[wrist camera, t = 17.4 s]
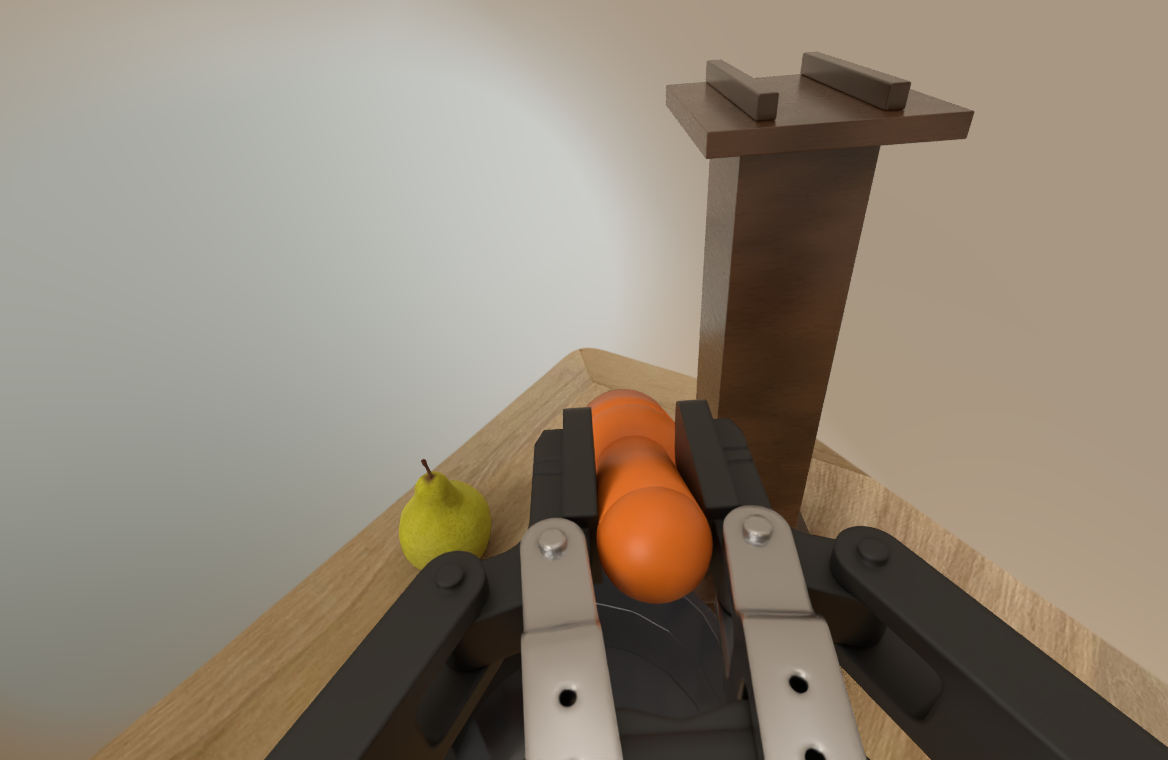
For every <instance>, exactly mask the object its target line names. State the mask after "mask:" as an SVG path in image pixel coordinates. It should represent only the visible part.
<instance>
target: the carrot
mask: <svg viewBox="0 0 1168 760" xmlns="http://www.w3.org/2000/svg"><path fill="white" fill-rule="evenodd" d="M587 407H591V409H592V422H593V435H594V448H595V462H596V479H597V505H598V527H597V551H598V556H599V560H600V563H601V565H602V568H603V570H604V572H605V574H606V575H607V577H608V578H609V580H610V581H611V582H612V583H613V584H614V585H615V586H616V587H617V588H618V589H619V590H620V591H621V592H623V593H624V594H625V595H627V596H628V597H630V598H633V599H635V600H637V601H640V602H645V603H651V604H662V603H668V602H672V601H675V600H678V599H680V598H682V597H684V596H686V595H687V594H689V593H690V592H691V591H693V590H694V589H695V588H696V587H697V586H698V585H699V584H700V582H701V581H702V580H703V578H704V577H705V575H706V573H707V570H708V568H709V565H710V561H711V557H712V549H713V541H712V535H711V530H710V527H709V524H708V521H707V519H706V517H705V515H704V513H703V512H702V510H701V508H700V507H699V505H698V503H697V502H696V500H695V498H694V497H693V495H692V493H691V492H690V490H689V488H688V487H687V485H686V483H685V482H684V480H683V478H682V477H681V475H680V473H679V472H678V470H677V468H676V463H675V450H674V445H675V422H674V421H673V420H672V419H671V418H670V417H669V415H668V414H667V413H666V412H665V411H664V410H663V409H662V407H661V406H660V405H659V404H658V403H657V402H656V401H655V400H653V399H652V398H651V397H649V396H647V395H646V394H643V393H641V392H638V391H634V390H629V389H618V390H611V391H608V392H605V393H604V394H601V395H600V396H598V397H596V398H595V399H594V400H593V401H591V402H590V403H589V404H588V405H587Z"/></svg>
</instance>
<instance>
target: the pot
mask: <svg viewBox="0 0 1168 760" xmlns="http://www.w3.org/2000/svg"><path fill="white" fill-rule="evenodd" d="M602 576H603V584H594V594H595V600H596V606H597V612H598V618H599V620H600V624H601V629H602V634H603V640H604V646H605V653H606V659H607V665H608V671H609V677H610V683H611V689H612V695H613V701H614V707H615V708H618V707H626V708H631V709H636V710H640V711H645V712H650V713H654V714H659V715H663V716H668V717H673V718H679V719H682V718H687V717H690V716H693V715H696V714H699V713H701V712H704V711H707V710H710V709H712V708H715V707H718V706H721V705H724V704H725V692H724V679H723V671H722V662H721V654H720V645H719V637H718V629H717V620H716V616H715V614H714V612H713V611H712V610H711V608H710V607H709V606H708V605H707V604H706V603H704V602H703V601H702V600H701V599H700V598H699V597H698V596H697V595H696V594H695V593H694V592H692V591H691V592H690V593H689V594H687V595H686V596H684V597H682V598H680V599H678V600H675V601H672V602H668V603H662V604H651V603H645V602H640V601H637V600H635V599H633V598H630V597H628V596H627V595H625V594H624V593H623V592H621V591H620V590H619V589H618V588H617V587H616V586H615V585H614V584H613V583H612V582H611V581H610V580H609V578H608V577H607V575H606V574H605V572H604V570H603V568H602ZM524 757H525V733H524V707H523V682H522V657H521V652H519V653H517V654H514V655H512V656H509V657H507V658H504V659H503V662H502V664H501V666H500V667H499V669H498V670H497V672H496V674H495V675H494V677H493V679H492V680H491V682H490V684H489V685H488V687H487V688H486V690H485V692H484V693H483V695H482V697H481V698H480V700H479V702H478V703H477V705H476V706H475V708H474V710H473V711H472V713H471V715H470V716H469V718H468V720H467V721H466V723H465V724H464V726H463V728H462V729H461V731H460V733H459V734H458V736H457V738H456V739H455V741H454V743H453V744H452V746H451V747H450V749H449V751H448V752H447V754H446V756H445V757H444V759H443V760H523V759H524Z"/></svg>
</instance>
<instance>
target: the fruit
mask: <svg viewBox="0 0 1168 760" xmlns="http://www.w3.org/2000/svg"><path fill="white" fill-rule="evenodd" d="M421 462H422V464H423V466H425V468H426V470H427V473H426V474H424V475H423V476H421V477H420V478H419V480H418V481H417V483H416V485H415V495H414V496H413V497H412V498H411V499H410V501H409V502H408V503H407V505H406V506H405V508H404V509H403V511H402V514H401V519H400V525H399V539H400V543H401V547H402V550H403V552H404V554H405V557H406V558H407V559H408V560H409V562H410V563H411V564H412V565H413V566H414V567H416V568H417V569H419V570H422V569H423V568H424V567H425V566H426V565H427V564H428V563H429V562H430V561H431V560H432V559H434V558H435V557H437V556H439V555H441V554H443V553H447V552H451V551H467V552H470V553H472V554H474V555H476V556H477V557H478V558H479V559H480V558H481V556H482V555H483V554H484V552H485V550H486V548H487V545H488V541H489V538H490V534H491V516H490V511H489V507H488V504H487V501H486V500H485V498H484V497H483V496H482V495H481V493H480V492H479V491H477V490H476V489H475V488H473V487H472V486H471V485H469V484H466V483H464V482H461V481H455V480H448V479H447V477H446V476H445V475H443V474H441V473H439V472H431V471H430V469H429V467H428V465H427V462H426V460H425V459H423V460H421Z"/></svg>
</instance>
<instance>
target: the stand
mask: <svg viewBox="0 0 1168 760" xmlns="http://www.w3.org/2000/svg"><path fill="white" fill-rule="evenodd" d="M910 86H911V82H910V81H907V80H904V79H901V78H897V77H894V76H891V75H888V74H885V73H882V72H879V71H875V70H872V69H869V68H866V67H863V66H860V65H857V64H853V63H851V62H847V61H844V60H841V59H838V58H835V57H832V56H829V55H826V54H823V53H819V52H808V53H804V54H803V58H802V66H801V74H799V75H786V76H774V77H761V78H753V77H751V76H749V75H747V74H745V73H743V72H742V71H740V70H738V69H737V68H735V67H733V66H731V65H730V64H728V63H726V62H724V61H723V60H710V61H707V67H706V82H700V83H687V84H675V85H667V86H666V106H667V107H668V108H669V109H670V111H671V112H672V114H673V115H674V116H675V118H676V119H677V120H678V122H679V123H680V124H681V126H682V127H683V128H684V130H685V131H686V132H687V134H688V135H689V136H690V138H691V139H692V141H693V142H694V143H695V145H696V146H697V147H698V149H699V150H700V151H701V152H702V154H703V155H704V157H705V158H706V159H710V164H709V183H708V199H707V217H706V235H705V253H704V271H703V288H702V305H701V323H700V324H701V325H700V341H699V342H700V343H699V359H698V376H697V394H696V400H701V399H706V400H707V402H708V405H709V408H710V411H711V414H712V417H713V419H718V418H729V419H731V420H732V421H733V422H734V423H735V424H736V425H737V426H738V427H739V428H740V429H741V430H742V431H743V434H744V436H745V439H746V442H747V444H748V449H750V452H751V455H752V457H753V462H755V465H756V468H757V470H758V473H759V475H760V478H761V481H762V483H763V486H764V488H765V491H766V494H767V496H768V499H769V501H770V504H771V507H772V509H773V511H775V512H776V513H778V514H779V515H781V516H782V517H783V518H784V519H785V520H786V522H787V523H788V525H789V526H790V527H792V528H794V529H796V530H798V531H801V532H803V533H807V534H809V531H808V529H807V527H806V525H805V522H804V520H803V518H802V515H801V513H800V507H801V503H802V498H803V494H804V489H805V485H806V480H807V476H808V471H809V467H810V462H811V458H812V453H813V449H814V444H815V440H816V435H817V431H818V426H819V421H820V417H821V412H822V407H823V403H824V398H825V394H826V390H827V385H828V381H829V376H830V372H831V367H832V362H833V357H834V354H835V349H836V344H837V340H838V335H839V331H840V326H841V321H842V317H843V313H844V308H845V304H846V299H847V294H848V290H849V285H850V281H851V276H852V272H853V267H854V263H855V258H856V254H857V249H858V245H859V240H860V236H861V231H862V227H863V222H864V217H865V213H866V208H867V204H868V200H869V195H870V190H871V185H872V182H873V177H874V172H875V168H876V163H877V159H878V154H879V150H880V145H893V144H905V143H918V142H931V141H943V140H956V139H966V137H967V135H968V131H969V128H970V125H971V122H972V118H973V115H974V111H972V110H969V109H966V108H964V107H961V106H958V105H955V104H952V103H949V102H946V101H943V100H940V99H937V98H934V97H931V96H929V95H926V94H923V93H920V92H917V91H914V90H911V89H910ZM692 592H694V593H695V594H696V595H697V596H698V597H699V598H700V599H701V600H702V601H703V602H704V603H706V604H707V605H708V606H709V607H710V608H711V610H712V611H713V612H714V614H716V612H715V596H716V589H715V585H714V581H713V577H705V578H703V580H702V581H701V582H700V584H699V585H698V586H697V587H696V588H695V589H694V590H693V591H692Z"/></svg>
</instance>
